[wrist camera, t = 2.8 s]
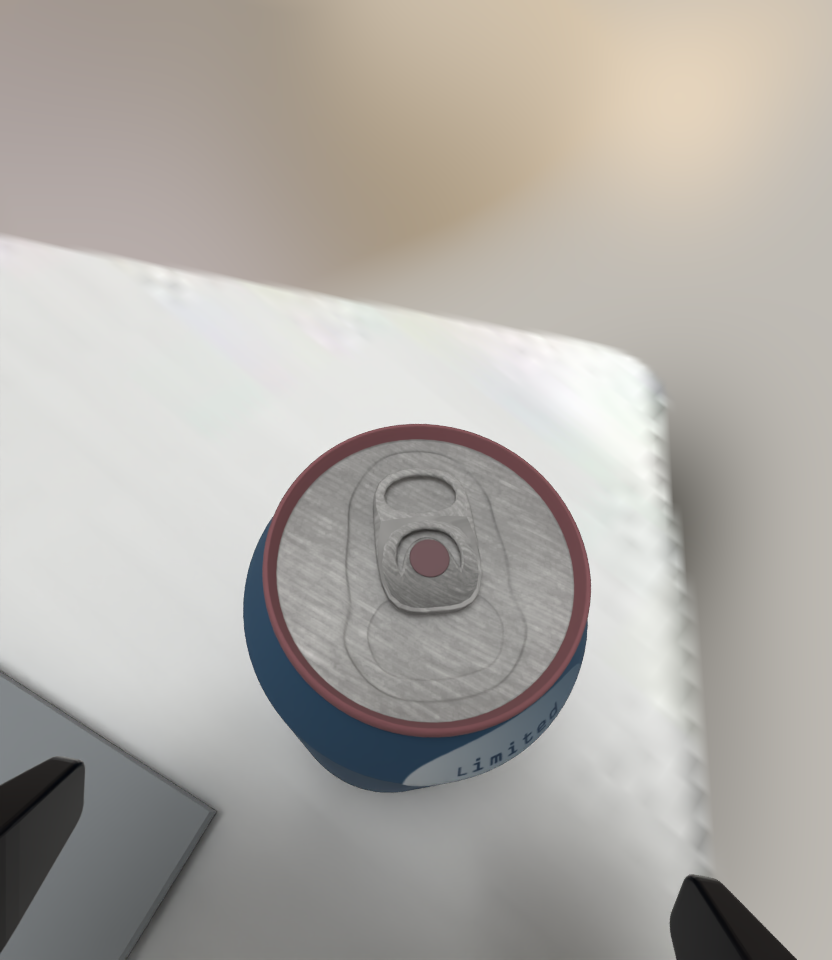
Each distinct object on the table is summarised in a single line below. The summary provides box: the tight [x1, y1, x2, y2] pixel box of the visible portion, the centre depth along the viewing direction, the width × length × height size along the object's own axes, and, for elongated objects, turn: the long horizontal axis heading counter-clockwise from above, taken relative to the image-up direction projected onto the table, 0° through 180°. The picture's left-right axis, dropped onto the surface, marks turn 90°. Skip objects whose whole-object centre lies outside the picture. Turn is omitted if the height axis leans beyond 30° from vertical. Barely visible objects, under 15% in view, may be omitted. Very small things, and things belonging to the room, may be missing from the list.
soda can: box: [243, 424, 591, 793], centre depth 14 cm, size 7×7×12 cm
